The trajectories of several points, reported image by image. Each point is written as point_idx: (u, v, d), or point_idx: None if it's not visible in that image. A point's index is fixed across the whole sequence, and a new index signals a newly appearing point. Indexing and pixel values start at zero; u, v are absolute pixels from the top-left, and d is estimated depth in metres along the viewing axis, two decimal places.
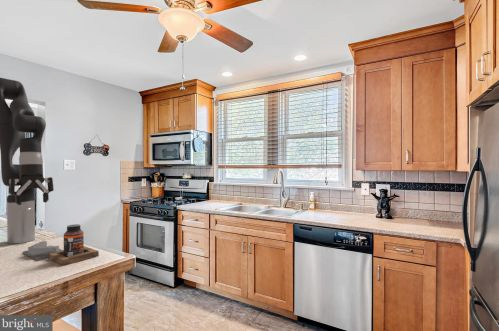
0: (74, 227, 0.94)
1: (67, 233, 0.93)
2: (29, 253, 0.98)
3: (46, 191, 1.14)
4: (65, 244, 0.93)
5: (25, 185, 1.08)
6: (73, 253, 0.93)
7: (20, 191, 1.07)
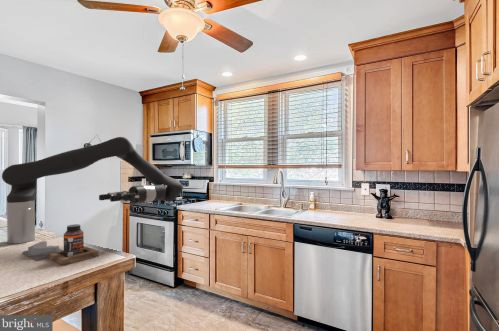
0: (74, 227, 0.94)
1: (67, 233, 0.93)
2: (29, 253, 0.98)
3: (110, 199, 1.11)
4: (65, 244, 0.93)
5: None
6: (73, 253, 0.93)
7: None
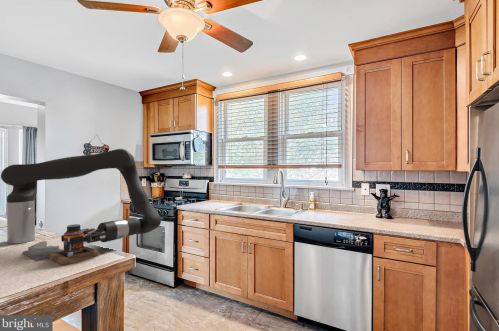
0: (74, 227, 0.94)
1: (67, 233, 0.93)
2: (29, 253, 0.98)
3: None
4: (65, 244, 0.93)
5: None
6: (73, 253, 0.93)
7: None
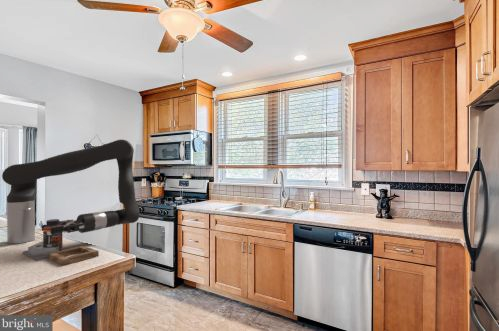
0: (53, 221, 1.01)
1: (46, 227, 1.00)
2: (29, 253, 0.98)
3: None
4: (44, 237, 1.00)
5: None
6: None
7: None
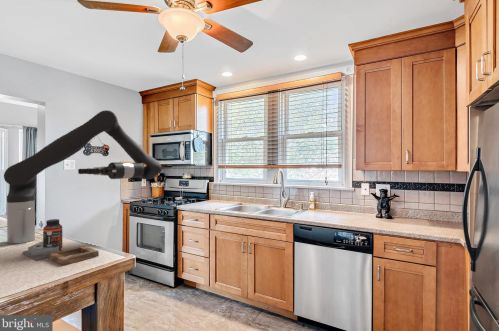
0: (53, 221, 1.01)
1: (46, 227, 1.00)
2: (29, 253, 0.98)
3: None
4: (44, 237, 1.00)
5: (104, 175, 1.16)
6: None
7: (101, 174, 1.14)
